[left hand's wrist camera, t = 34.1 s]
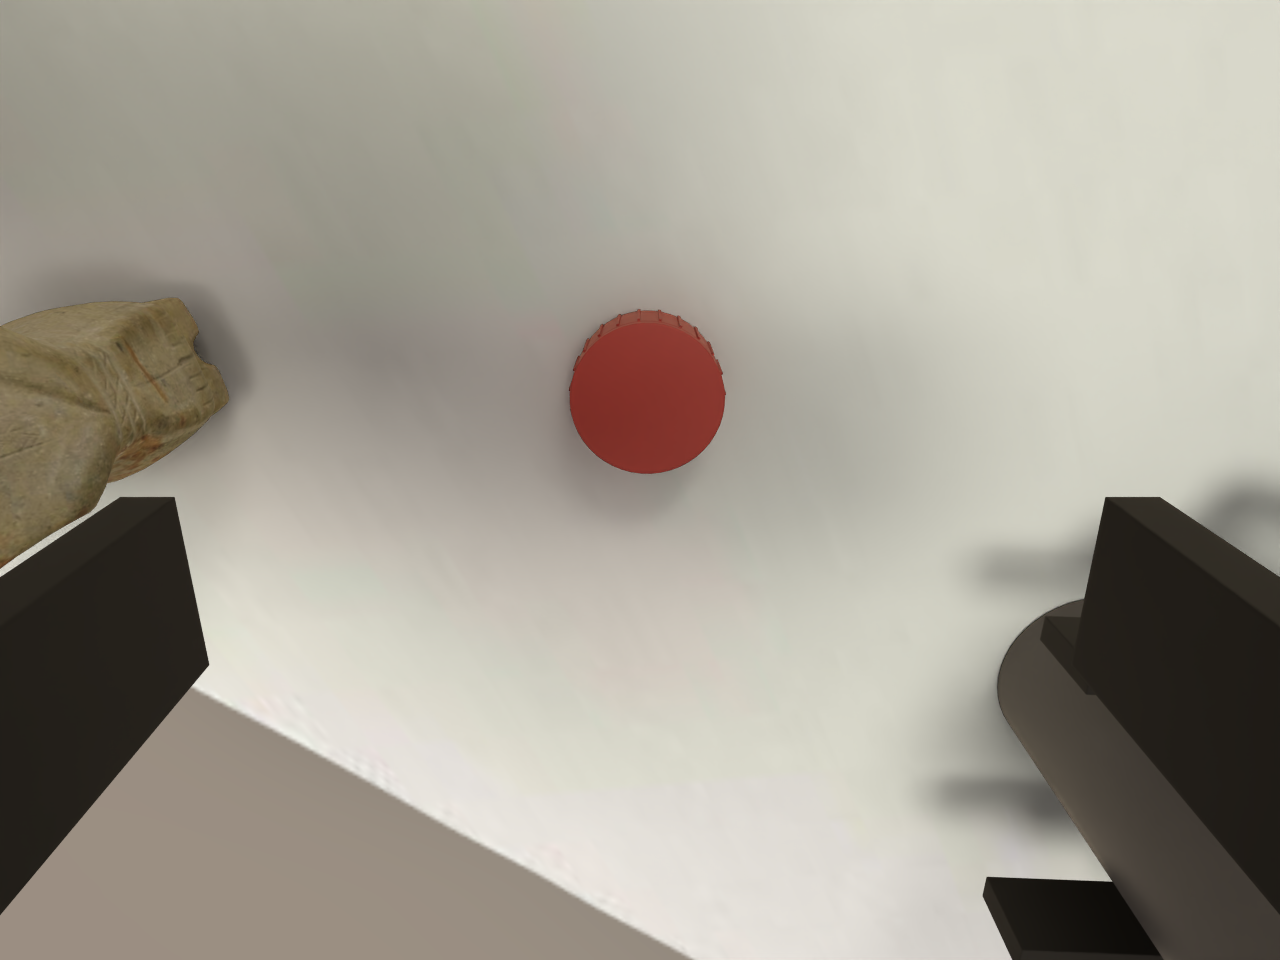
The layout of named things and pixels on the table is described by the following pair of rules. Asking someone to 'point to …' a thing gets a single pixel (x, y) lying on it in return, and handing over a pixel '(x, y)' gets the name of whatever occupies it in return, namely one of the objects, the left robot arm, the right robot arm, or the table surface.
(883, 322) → the table surface
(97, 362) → the sculpture
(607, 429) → the cap
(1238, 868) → the bottle
